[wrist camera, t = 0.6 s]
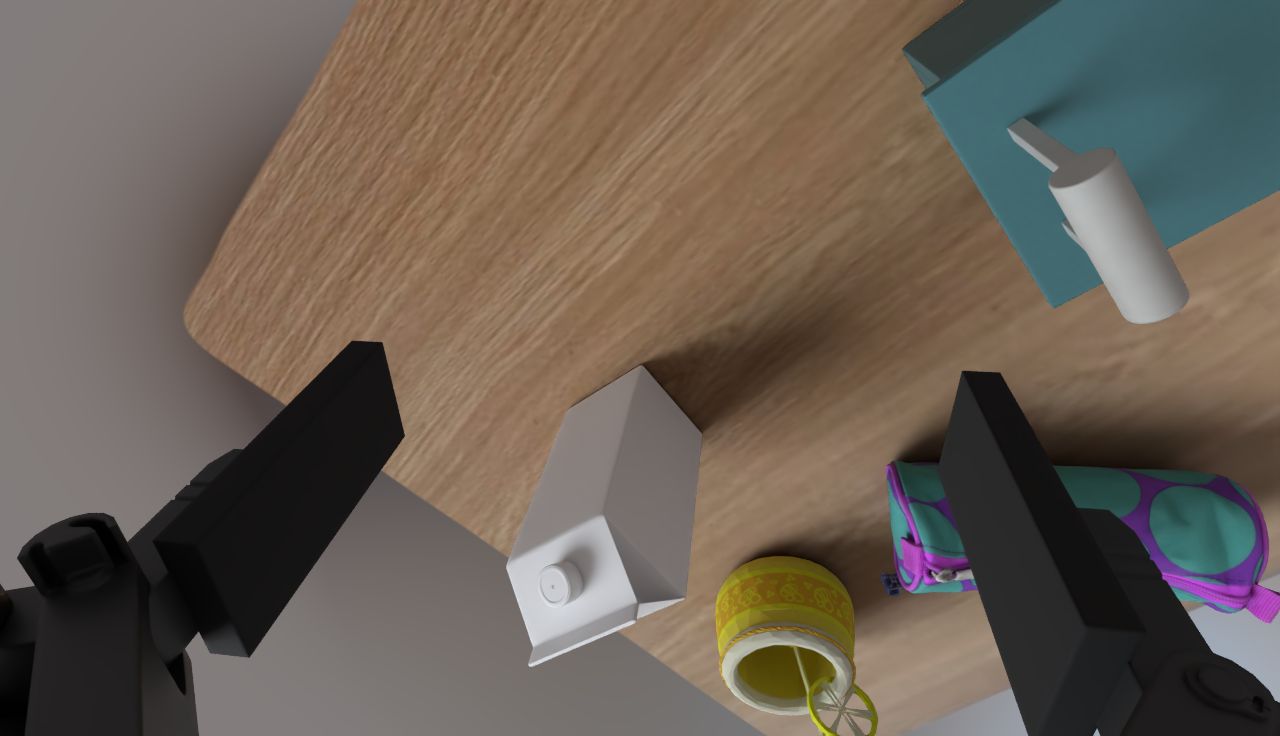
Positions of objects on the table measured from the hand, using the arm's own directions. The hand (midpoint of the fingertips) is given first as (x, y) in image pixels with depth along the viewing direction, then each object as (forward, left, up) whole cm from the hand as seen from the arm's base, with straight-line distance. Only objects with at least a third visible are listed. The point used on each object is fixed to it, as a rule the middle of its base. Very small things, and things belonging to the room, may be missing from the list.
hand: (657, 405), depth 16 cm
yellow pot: (+36, +13, -28) cm, 48 cm away
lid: (-7, +18, -19) cm, 27 cm away
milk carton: (+21, -2, -28) cm, 35 cm away
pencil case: (+20, +26, -28) cm, 43 cm away
